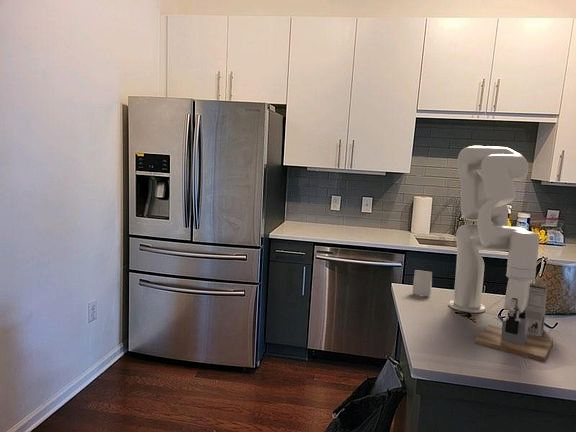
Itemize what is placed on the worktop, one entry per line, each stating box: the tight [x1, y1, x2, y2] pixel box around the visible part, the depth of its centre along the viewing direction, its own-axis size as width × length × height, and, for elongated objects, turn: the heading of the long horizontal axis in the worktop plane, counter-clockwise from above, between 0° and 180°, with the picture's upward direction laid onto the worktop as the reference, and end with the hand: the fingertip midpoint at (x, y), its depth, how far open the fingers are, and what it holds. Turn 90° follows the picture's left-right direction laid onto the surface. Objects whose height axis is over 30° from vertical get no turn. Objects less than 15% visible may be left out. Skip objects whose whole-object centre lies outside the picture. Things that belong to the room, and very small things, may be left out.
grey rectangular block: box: [412, 269, 433, 298], centre depth 175 cm, size 4×7×10 cm, turn 63°
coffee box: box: [525, 279, 549, 337], centre depth 138 cm, size 9×6×16 cm
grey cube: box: [501, 315, 529, 345], centre depth 127 cm, size 6×6×6 cm
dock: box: [474, 324, 554, 362], centre depth 128 cm, size 16×18×5 cm
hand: (514, 328), depth 128 cm, fingers open, 9 cm apart
